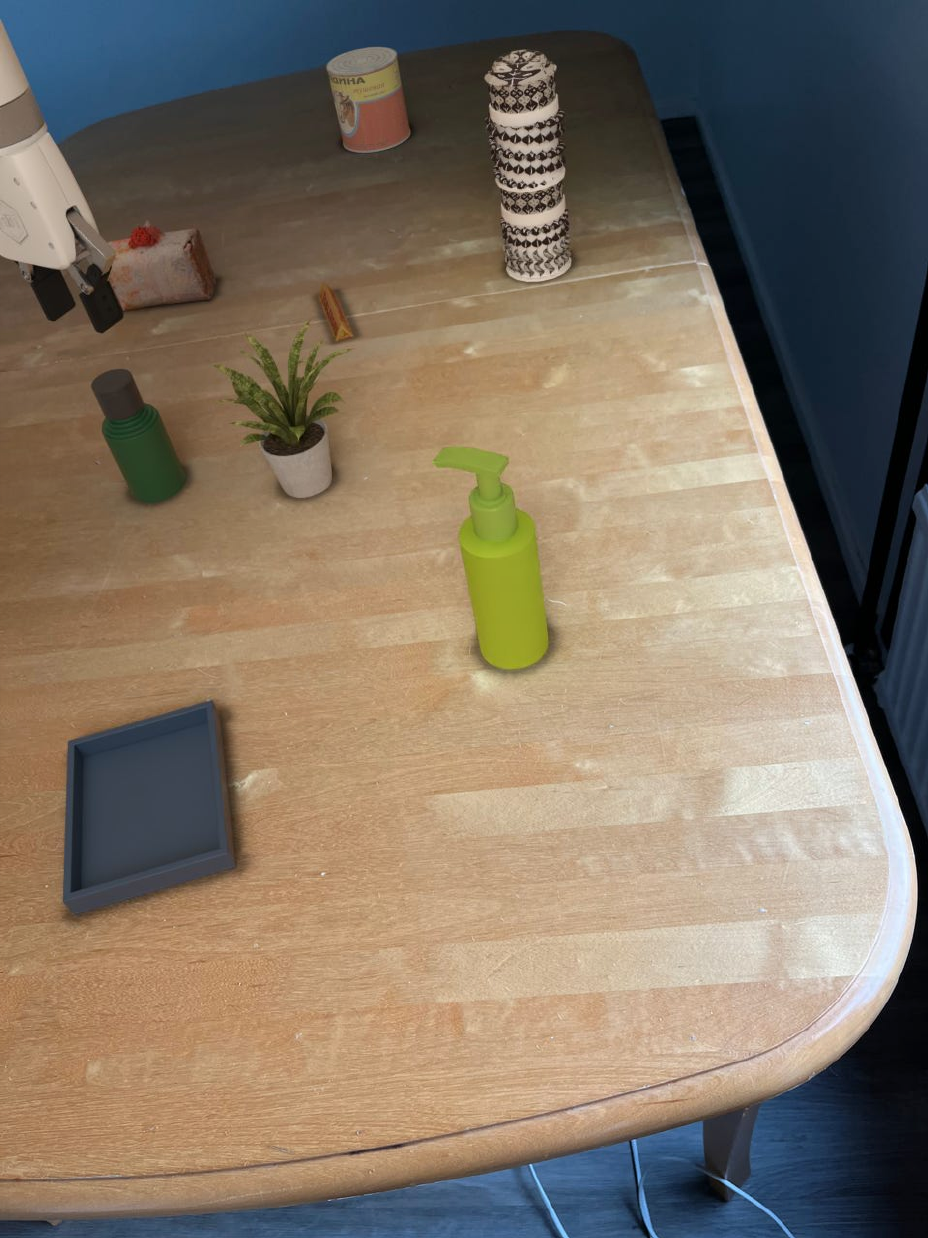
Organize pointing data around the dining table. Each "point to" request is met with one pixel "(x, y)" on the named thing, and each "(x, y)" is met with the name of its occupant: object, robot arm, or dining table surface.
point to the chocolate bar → (334, 313)
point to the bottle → (145, 455)
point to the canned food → (369, 99)
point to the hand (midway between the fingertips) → (85, 317)
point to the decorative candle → (529, 164)
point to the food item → (161, 268)
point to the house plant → (289, 418)
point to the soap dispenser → (500, 563)
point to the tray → (146, 808)
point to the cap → (117, 394)
